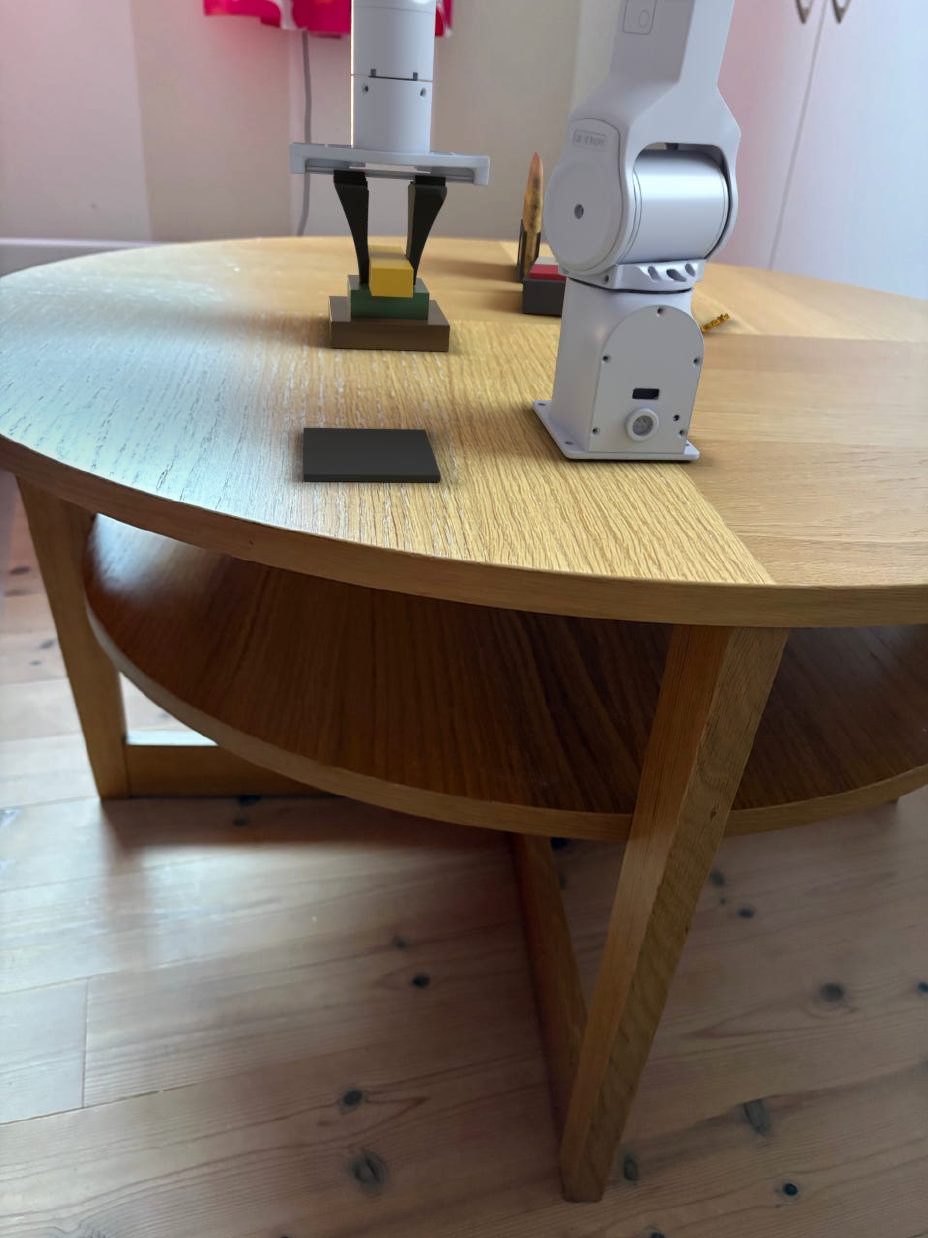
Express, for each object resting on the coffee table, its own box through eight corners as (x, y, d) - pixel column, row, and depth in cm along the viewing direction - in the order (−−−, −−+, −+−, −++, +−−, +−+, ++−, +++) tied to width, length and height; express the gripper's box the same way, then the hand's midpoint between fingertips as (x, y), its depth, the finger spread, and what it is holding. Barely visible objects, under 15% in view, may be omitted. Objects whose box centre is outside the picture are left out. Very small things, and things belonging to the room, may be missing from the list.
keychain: (720, 320, 86) (723, 309, 85) (731, 322, 85) (733, 311, 85) (694, 334, 80) (696, 322, 79) (705, 336, 79) (708, 325, 79)
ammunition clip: (516, 265, 104) (527, 150, 98) (532, 266, 104) (544, 151, 98) (518, 282, 95) (530, 157, 89) (535, 283, 95) (549, 158, 89)
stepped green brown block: (448, 351, 68) (452, 297, 66) (331, 348, 67) (330, 292, 65) (434, 323, 76) (437, 274, 74) (328, 320, 75) (328, 269, 73)
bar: (412, 297, 66) (413, 269, 64) (371, 296, 65) (372, 267, 64) (400, 271, 74) (401, 246, 73) (364, 270, 73) (364, 244, 72)
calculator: (533, 252, 90) (685, 259, 88) (531, 297, 92) (678, 304, 90) (522, 270, 80) (691, 278, 78) (520, 319, 82) (684, 328, 81)
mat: (440, 482, 46) (440, 475, 46) (303, 481, 45) (303, 473, 45) (425, 435, 52) (425, 429, 52) (303, 433, 51) (303, 426, 50)
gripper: (483, 86, 67) (470, 275, 74) (288, 70, 65) (293, 267, 72) (500, 87, 61) (484, 293, 68) (286, 70, 59) (292, 285, 66)
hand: (387, 281), depth 69 cm, fingers closed on bar, 3 cm apart
